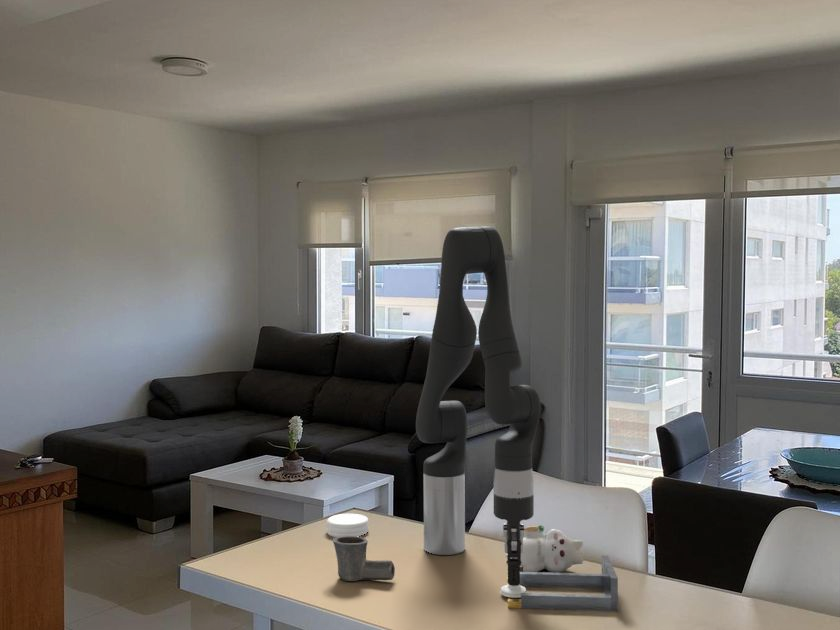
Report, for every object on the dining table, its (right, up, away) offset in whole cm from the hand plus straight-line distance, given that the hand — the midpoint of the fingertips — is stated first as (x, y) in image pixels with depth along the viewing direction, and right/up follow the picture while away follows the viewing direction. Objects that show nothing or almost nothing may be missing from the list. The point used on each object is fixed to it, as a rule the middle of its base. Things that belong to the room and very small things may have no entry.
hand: (513, 581), depth 149 cm
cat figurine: (+8, -3, +13) cm, 16 cm away
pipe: (-29, -3, +9) cm, 31 cm away
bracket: (+9, -3, -1) cm, 10 cm away
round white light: (-35, -2, +41) cm, 54 cm away
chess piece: (0, -2, 0) cm, 2 cm away
